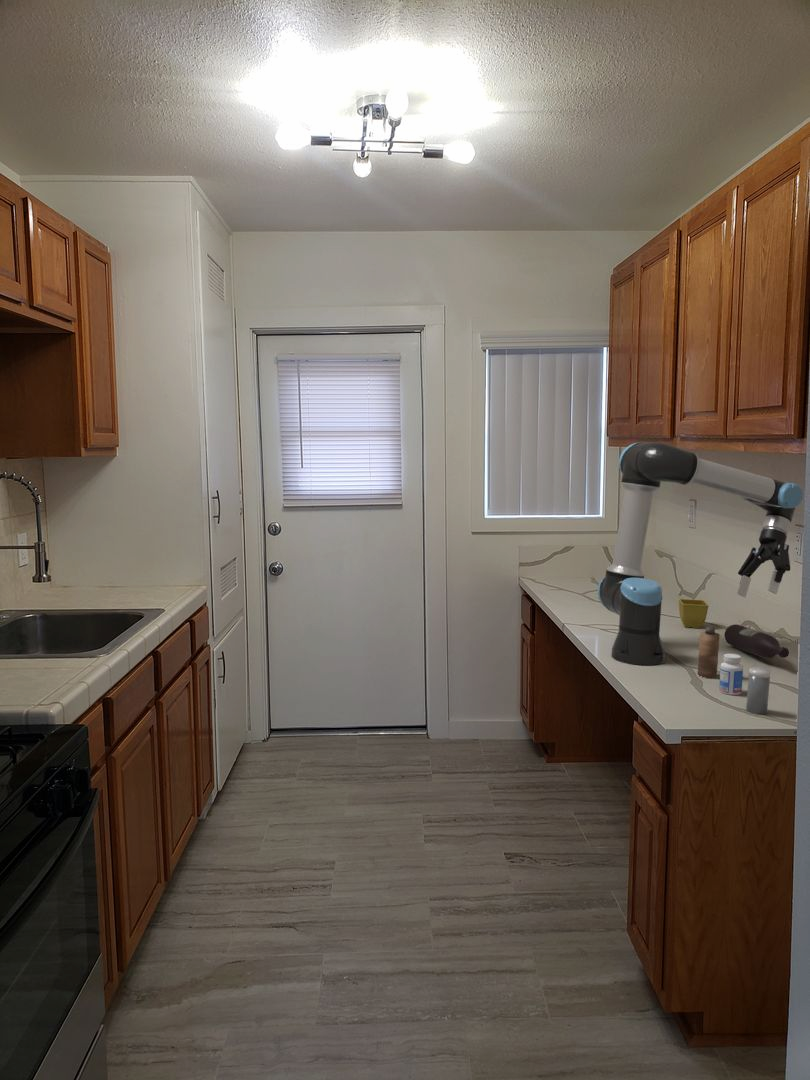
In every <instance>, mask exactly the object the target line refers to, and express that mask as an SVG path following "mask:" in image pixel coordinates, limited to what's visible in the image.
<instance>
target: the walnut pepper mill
mask: <svg viewBox="0 0 810 1080" xmlns="http://www.w3.org/2000/svg"><path fill="white" fill-rule="evenodd" d="M715 631H716V628H715V627H712V626H707V627H705V630H704V631H700V634H699V648H698V650H699V651H698V664H697V674H698V675H699V676H698V675H697V676H698V677H700V676H702V677H701V678H703V677H706V678H705V679H716V678H717V677H718V667H719V666H718V665H719V663H718V662H719V652H720V651H719V650H720V649H719V648H720V633H718V632H715Z"/></svg>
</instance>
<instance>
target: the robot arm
mask: <svg viewBox="0 0 810 1080" xmlns="http://www.w3.org/2000/svg"><path fill="white" fill-rule="evenodd" d="M618 466H619V470H620V472H621V474H622V475H621V480H620V481H621V482H620V484H621V485H622V487H623V488H624V494H623V500H622V505H621V512H620V518H619V522H618V523H619V524H618V530H617V535H616V541H615V548H614V552H613V560H612V564H610V565H609V566H608V567H607V568H606V570H605V576H604V577H602V579H601V580H600V581H599V583H598V586H597V597H598V600H599V601H600V604H602V606H603V607H605V609H606V610H608V611H609V612H612V613H614V614H615V615H617V616H619V621H618V622H619V623H618V631H617V632H618V633H617V635H616V637H615V640H614V642H613V644H612V648H611V658H613V659H614V660H616V661H619V662H622V663H626V664H631V665H641V666H644V665H645V666H653V665H659V663H660V664H662V663H664V661H665V651H664V648H663V647H664V646H663V644H662V640H661V636H660V627H661V615H662V600H663V590H662V589H663V588H662V587H661V585H660V584H659V583H658V582H657V581H654V580H652V579H647V578H645V573H644V572H643V571H642V569H641V566H642V560H643V556H644V551H645V543H646V539H647V532H648V528H649V527H648V526H649V522H650V515H651V511H652V510H651V509H652V504H653V500H654V493H655V492H657V491H658V490H659V489H660V488H661V483H663V482H665V483H675V484H680V485H689V484H693V485H697V486H700V487H702V488H708V489H712V490H715V491H719V492H721V493H726V494H730V495H734V496H738V497H740V498H742V499H743V500H744V501H747V502H749V503H751V504H752V505H755V506H757V507H759V508H761V509H762V510H763V511H766V515H765V517H764V521H763V524H762V528H761V529H762V530H761V531H760V535H759V537H758V542H759V544H760V546H758V548H756V547H752V548H751V551H750V553H749V554H748V556H747V558H746V559H745V560H744V563H743V564H742V565H741V567H740V568H739V569H738V571H737V574H738V575H739V576H741V578H740V582H739V586H738V590H737V593H736V594H737V595H739V596H740V597H743V598H746V597H747V593H748V591H749V587H750V584H751V580H752V578H751V576H752V575H753V574H754V573H755V572H756V570H758V568H759V567H761V565H762V564H764V563H766V562H768V561H771V562H772V563H773V565H774V570H773V571H772V574H771V577H770V582H769V584H768V585H769V586H768V588H767V591H769V592H770V593H771V594H775V595H777V594H778V590H779V587H780V584H781V582H782V580H783V576H784V574H785V573H786V572H790V571H791V562H790V555H789V549H790V545H789V544H787V543H786V542H787V537H788V534H789V530H790V526H791V524H792V521H793V517H794V514H795V511H796V508H797V507H798V506H799V505H800V504H801V503H802V501H803V500H804V499H803V498H804V491H803V489H802V487H801V486H800V485H799V484H796V483H793V482H789V481H788V482H785V481H781V480H777V479H773V478H771V477H767V476H763V475H759V474H756V473H752V472H749V471H746V470H742V469H738V468H736V467H735V468H734V467H731V466H728V465H724V464H720V463H718V462H714V461H710V460H706V459H703V458H699V457H698V455H697V454H696V453H694V452H691V451H688V450H685V449H682V448H680V447H676V446H673V445H671V444H668V443H665V442H659V441H655V442H652V441H639V442H635V443H631V444H630V445H628V446H627V447H626V448H624V449H623V451H622V452H621V454H620V456H619V459H618ZM795 507H796V508H795ZM794 510H795V511H794Z"/></svg>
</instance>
